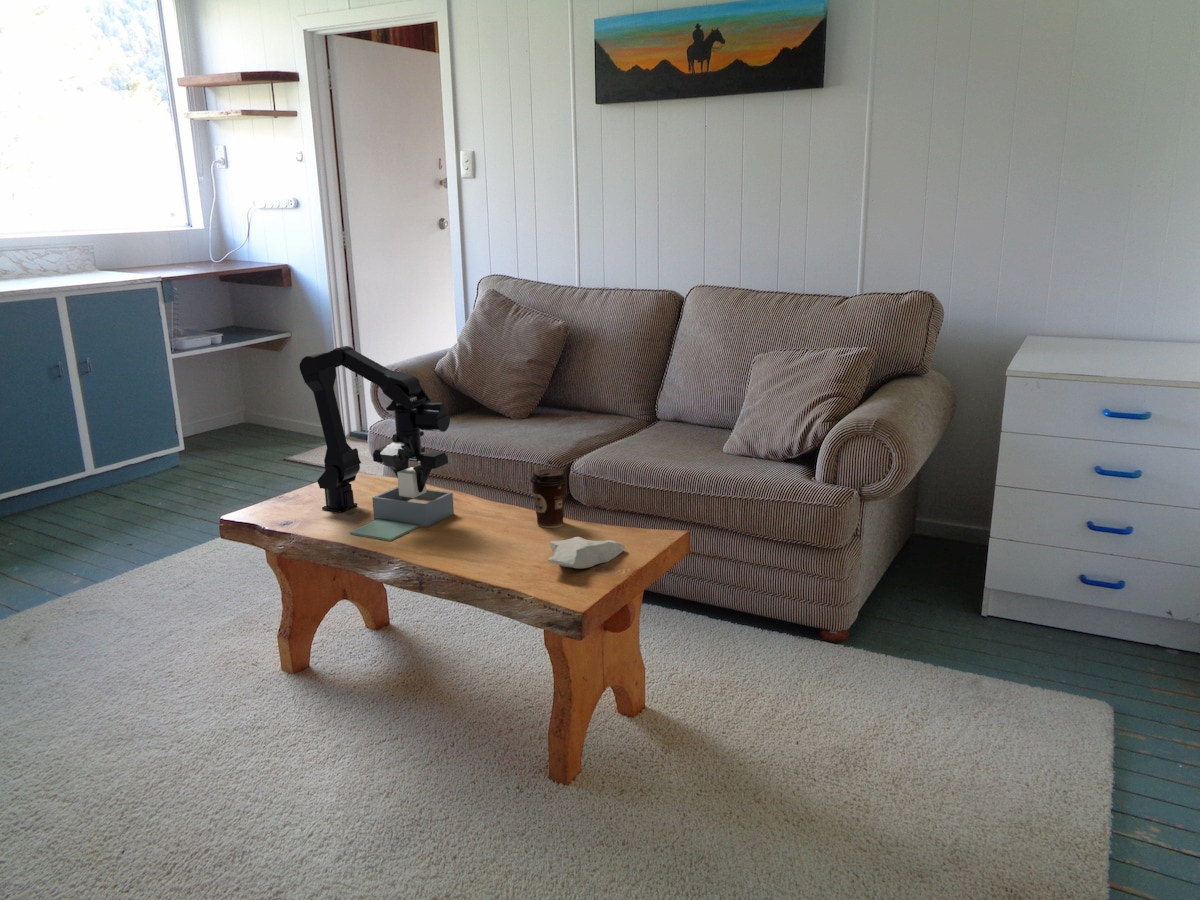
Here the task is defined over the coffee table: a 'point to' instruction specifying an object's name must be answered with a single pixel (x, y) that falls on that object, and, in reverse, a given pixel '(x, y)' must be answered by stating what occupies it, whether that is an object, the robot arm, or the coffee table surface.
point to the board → (384, 530)
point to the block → (409, 483)
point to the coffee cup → (549, 497)
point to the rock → (583, 552)
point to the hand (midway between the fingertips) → (412, 490)
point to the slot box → (413, 507)
